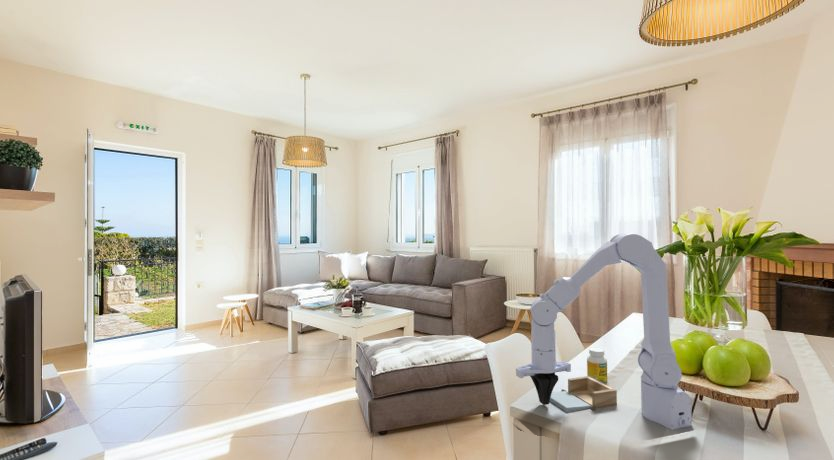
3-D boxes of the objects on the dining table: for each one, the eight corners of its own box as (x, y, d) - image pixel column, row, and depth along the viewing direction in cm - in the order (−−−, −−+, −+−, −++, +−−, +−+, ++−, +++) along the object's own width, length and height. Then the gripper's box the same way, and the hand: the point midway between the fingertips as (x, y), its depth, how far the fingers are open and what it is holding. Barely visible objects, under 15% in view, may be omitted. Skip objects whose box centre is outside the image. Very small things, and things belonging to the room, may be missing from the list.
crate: (619, 409, 95) (619, 391, 95) (592, 414, 93) (592, 395, 93) (585, 391, 106) (585, 374, 106) (561, 395, 104) (561, 378, 104)
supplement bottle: (594, 377, 116) (593, 345, 116) (611, 383, 111) (610, 350, 112) (583, 381, 113) (582, 349, 113) (600, 387, 108) (600, 353, 109)
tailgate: (590, 405, 94) (566, 407, 92) (590, 410, 94) (566, 412, 92) (566, 391, 103) (543, 392, 101) (565, 395, 103) (543, 397, 101)
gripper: (557, 341, 102) (558, 392, 101) (509, 346, 97) (509, 400, 97) (576, 348, 95) (576, 404, 95) (524, 354, 91) (525, 412, 90)
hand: (544, 402), depth 95 cm, fingers closed
